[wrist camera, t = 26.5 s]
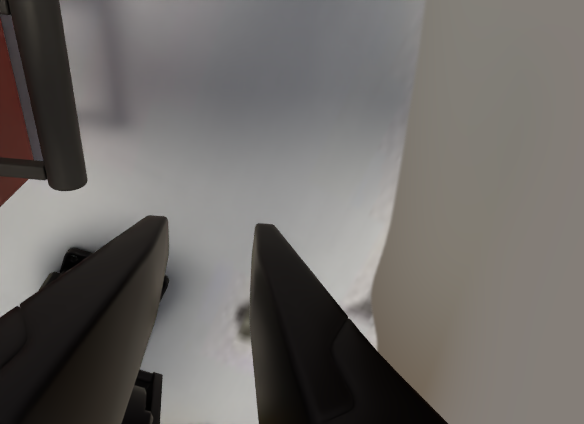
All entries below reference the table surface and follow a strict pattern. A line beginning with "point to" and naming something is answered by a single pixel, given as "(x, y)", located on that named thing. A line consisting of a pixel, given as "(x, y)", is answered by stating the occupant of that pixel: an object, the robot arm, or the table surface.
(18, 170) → the red-fronted drawer
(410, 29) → the table surface
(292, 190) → the table surface
